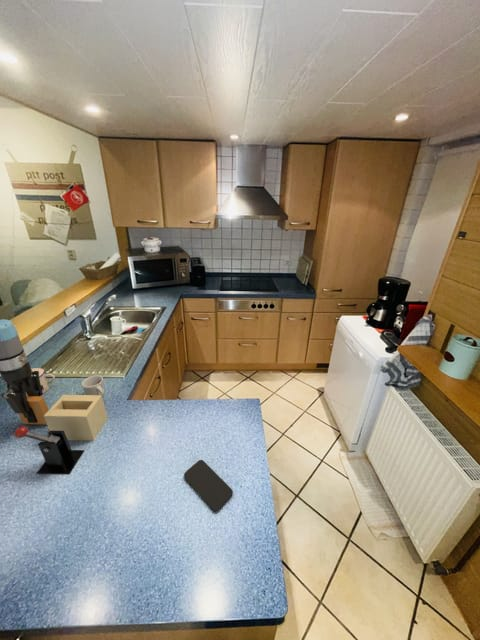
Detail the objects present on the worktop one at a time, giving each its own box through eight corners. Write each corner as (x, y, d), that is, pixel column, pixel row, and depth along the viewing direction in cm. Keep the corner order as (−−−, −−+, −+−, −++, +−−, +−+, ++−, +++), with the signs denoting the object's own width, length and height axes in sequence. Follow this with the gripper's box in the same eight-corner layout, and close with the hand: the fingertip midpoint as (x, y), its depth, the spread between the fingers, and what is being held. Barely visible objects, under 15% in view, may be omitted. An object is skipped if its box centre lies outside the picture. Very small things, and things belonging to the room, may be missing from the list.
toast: (22, 424, 91) (12, 400, 86) (28, 418, 93) (17, 395, 89) (47, 424, 91) (38, 401, 87) (52, 419, 94) (43, 396, 89)
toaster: (54, 441, 87) (43, 415, 82) (71, 419, 96) (63, 394, 91) (94, 442, 87) (86, 416, 82) (108, 419, 96) (101, 395, 91)
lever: (10, 438, 72) (11, 431, 71) (19, 429, 75) (20, 422, 74) (53, 451, 75) (55, 444, 73) (60, 441, 78) (62, 435, 76)
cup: (114, 397, 107) (110, 382, 104) (95, 408, 101) (91, 392, 98) (100, 387, 112) (96, 372, 109) (82, 397, 106) (77, 382, 103)
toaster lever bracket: (37, 475, 76) (23, 449, 71) (55, 452, 83) (44, 426, 78) (70, 476, 76) (59, 449, 71) (85, 452, 83) (76, 426, 78)
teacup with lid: (21, 400, 104) (11, 378, 99) (27, 387, 111) (18, 365, 107) (56, 392, 109) (48, 370, 104) (59, 380, 116) (52, 359, 111)
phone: (215, 512, 67) (182, 474, 76) (215, 514, 67) (182, 476, 76) (234, 491, 72) (201, 458, 81) (234, 493, 72) (201, 459, 81)
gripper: (5, 381, 75) (30, 436, 85) (42, 353, 89) (60, 403, 99) (-21, 380, 75) (8, 436, 85) (21, 352, 89) (41, 403, 99)
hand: (36, 418), depth 92 cm, fingers closed on toast, 2 cm apart
